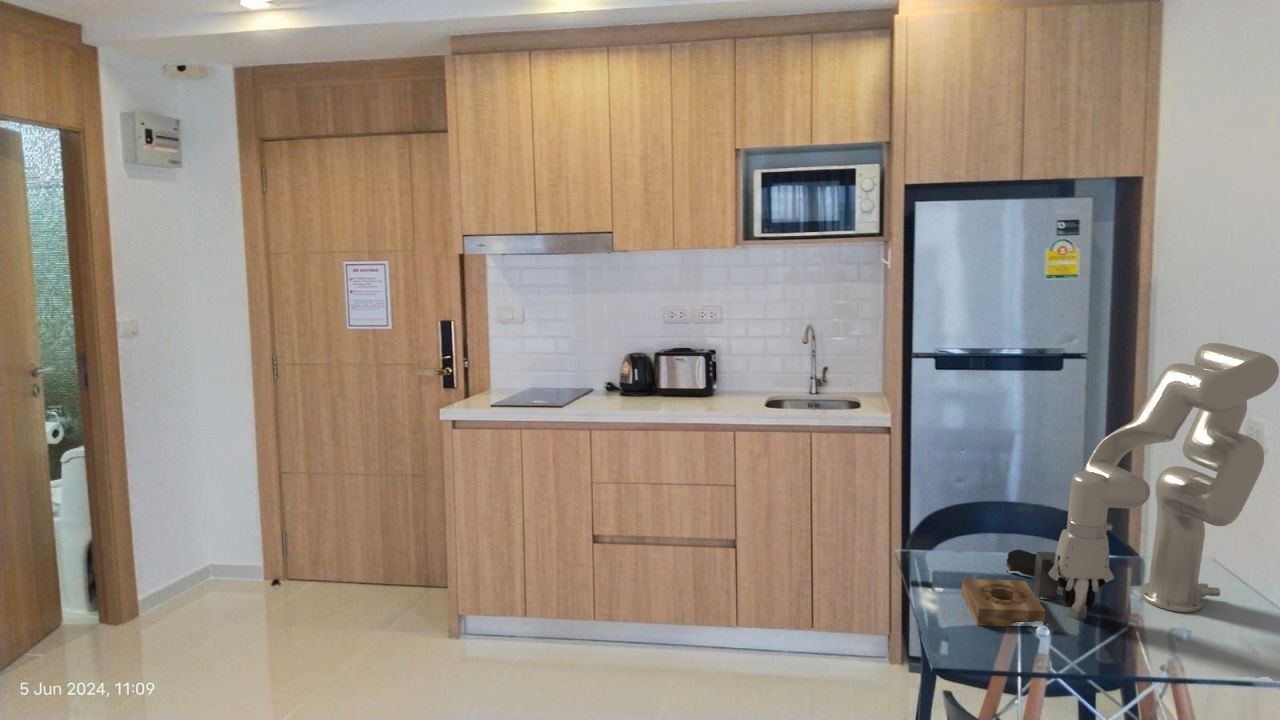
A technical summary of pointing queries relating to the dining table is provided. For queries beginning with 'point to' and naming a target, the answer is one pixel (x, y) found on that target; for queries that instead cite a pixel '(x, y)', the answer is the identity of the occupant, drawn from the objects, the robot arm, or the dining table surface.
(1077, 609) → the round bit
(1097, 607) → the dining table surface
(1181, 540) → the robot arm
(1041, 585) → the square bit
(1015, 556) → the black sponge
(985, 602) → the socket block
